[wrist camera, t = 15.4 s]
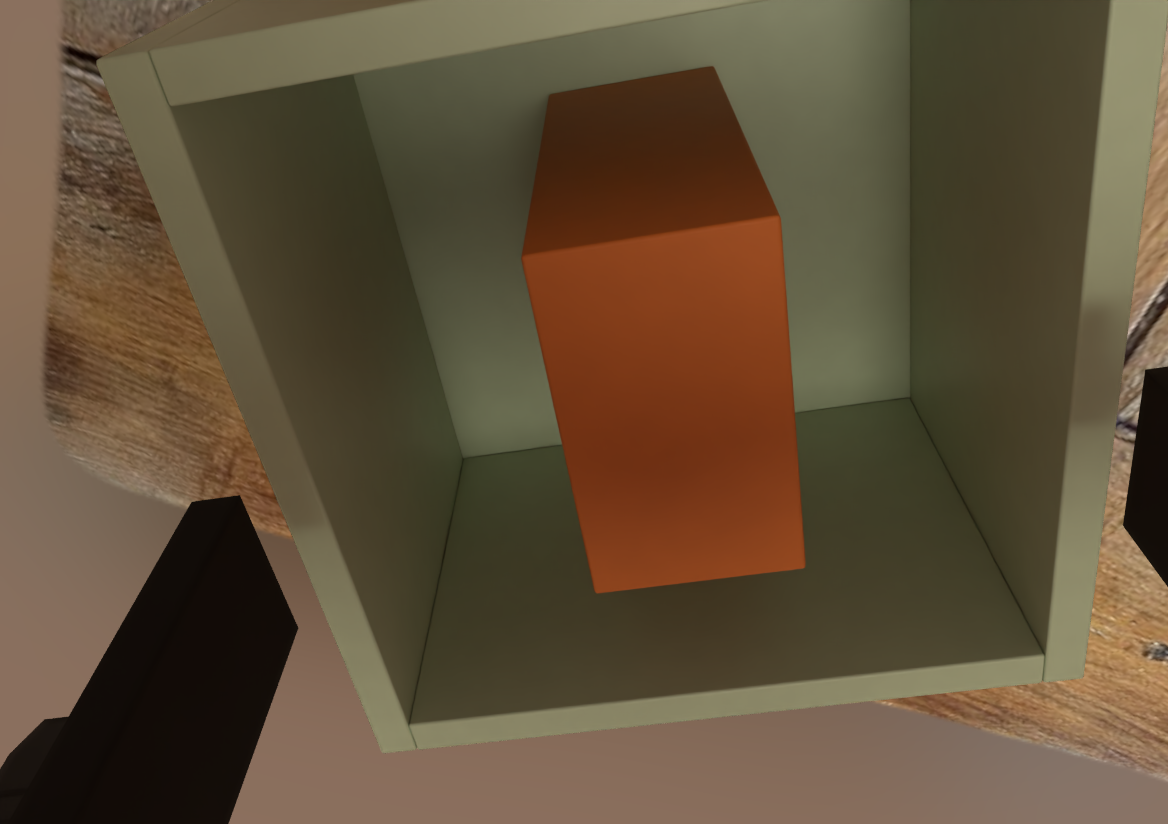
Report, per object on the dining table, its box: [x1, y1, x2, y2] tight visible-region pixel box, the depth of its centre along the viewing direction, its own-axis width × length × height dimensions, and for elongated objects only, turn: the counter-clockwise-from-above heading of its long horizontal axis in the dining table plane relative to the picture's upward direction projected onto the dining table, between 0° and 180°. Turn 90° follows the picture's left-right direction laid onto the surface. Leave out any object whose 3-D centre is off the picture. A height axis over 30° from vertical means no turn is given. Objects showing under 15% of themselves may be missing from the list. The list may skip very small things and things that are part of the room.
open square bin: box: [96, 0, 1168, 753], centre depth 21 cm, size 15×15×11 cm
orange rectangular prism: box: [521, 66, 806, 593], centre depth 21 cm, size 4×7×10 cm, turn 10°
